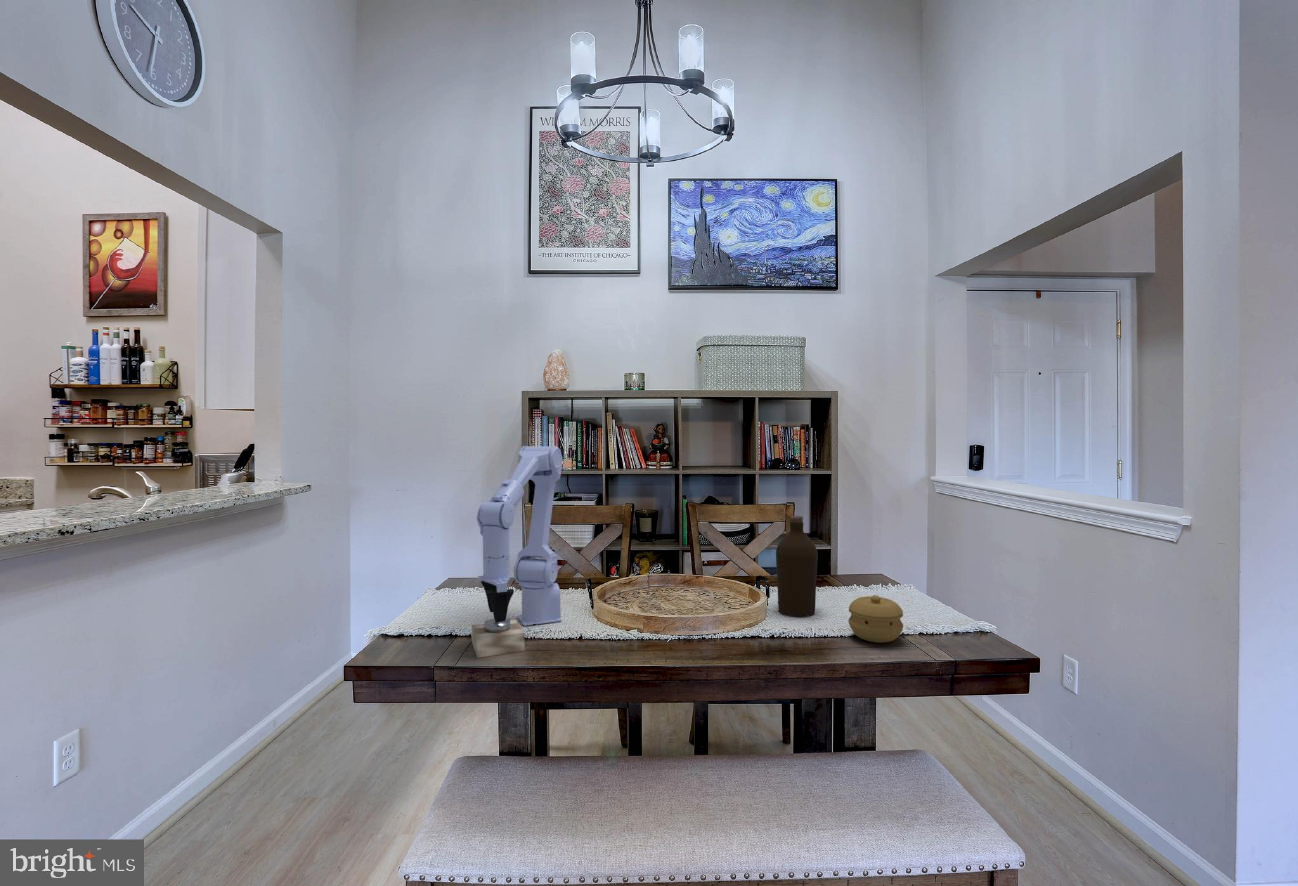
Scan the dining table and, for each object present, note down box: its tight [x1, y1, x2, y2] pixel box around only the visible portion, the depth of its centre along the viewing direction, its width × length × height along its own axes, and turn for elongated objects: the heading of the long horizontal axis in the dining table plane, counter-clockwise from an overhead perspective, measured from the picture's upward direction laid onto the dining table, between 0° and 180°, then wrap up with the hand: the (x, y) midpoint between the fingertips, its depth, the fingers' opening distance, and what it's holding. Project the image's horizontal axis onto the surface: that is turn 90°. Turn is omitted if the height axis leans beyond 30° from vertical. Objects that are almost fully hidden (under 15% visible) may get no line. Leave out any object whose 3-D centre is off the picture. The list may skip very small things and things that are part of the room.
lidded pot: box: [847, 594, 904, 644], centre depth 140 cm, size 12×12×10 cm
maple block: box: [471, 618, 526, 658], centre depth 137 cm, size 10×10×4 cm
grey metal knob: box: [483, 618, 511, 633], centre depth 137 cm, size 6×6×5 cm
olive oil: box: [775, 515, 819, 618], centre depth 161 cm, size 11×11×25 cm
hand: (497, 616), depth 137 cm, fingers open, 7 cm apart
